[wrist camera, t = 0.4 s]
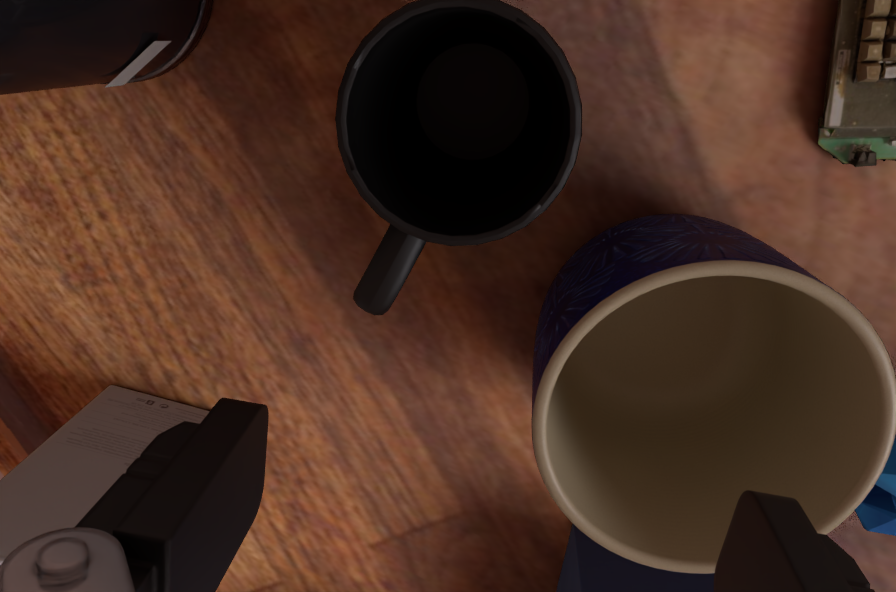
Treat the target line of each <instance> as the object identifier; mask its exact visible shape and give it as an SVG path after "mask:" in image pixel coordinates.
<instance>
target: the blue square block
mask: <svg viewBox="0 0 896 592" xmlns="http://www.w3.org/2000/svg"><path fill="white" fill-rule="evenodd" d="M556 592H714V573H709V574H703V573H683V572H673V571H668V570H663V569H657V568H653V567H650V566H646V565H643V564H639V563H637V562H634V561H631V560H629V559H626V558H624V557H622V556H620V555H618V554H615V553H613V552H611V551H609V550H608V549H606V548H604V547H603V546H601V545H599V544H598V543H596V542H595V541H593V540H592V539H591V538H589V537H588V536H587V535H585V534H584V533H583V532H581V531H580V530H579V529H578V528H577V527H576V526H575V525H574V524H572V528H571V532H570V536H569V540H568V545H567V549H566V553H565V557H564V561H563V565H562V569H561V573H560V578H559V582H558V586H557V590H556Z"/></svg>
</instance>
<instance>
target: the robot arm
mask: <svg viewBox="0 0 896 592" xmlns="http://www.w3.org/2000/svg"><path fill="white" fill-rule="evenodd" d="M212 5H213V0H0V95H3V94H12V93H21V92H30V91H39V90H48V89H58V88H67V87H76V86H85V85H93V84H108V85H107V86H106V87H112V86H120V85H124V84H125V83H130V82H139V81H145V80H149V79H152V78H155V77H158V76H161V75H163V74H165V73H167V72H169V71H170V70H172V69H173V68H175V67H176V66H178V65H179V64H180V63H181V62H183V61H184V60H185V59H186V58H187V57H188V56H189V55H190V53H191V52H192V51H193V50H194V48H195V47H196V46H197V44H198V42H199V41H200V39H201V37H202V35H203V33H204V31H205V29H206V27H207V24H208V21H209V18H210V14H211V11H212ZM267 432H268V408H267V406H266V405H263V404H257V403H252V402H246V401H240V400H234V399H229V398H221V399H220V400H219V401H218V402H217V403H216V405H215V406H214V407H213V408H212V409H211V411H210V412H209V413H208V414H207V416H206V417H205V418H204V419H203V420H202V422H201V423H200V424H199V423H193V422H188V421H183V422H181V423H179V424H178V425H176V426H174V427H172V428H170V429H168V430H166V431H164V432H162V433H160V434H158V435H157V436H156V437H155V438H154V439H153V441H152V442H151V443H150V444H149V445H148V446H147V447H146V448H145V449H144V451H143V452H142V453H141V455H140V458H138V457H137V458H136V459H135V461H134V462H133V463H132V464H131V465H130V466H129V467H128V468H127V471H126V473H125V474H124V473H123V474H122V475H121V476H120V477H119V478H118V479H117V480H116V482H115V483H114V484H113V485H112V486H111V487H110V488H109V489H108V490H107V492H106V493H105V494H104V495H103V496H102V497H101V498H100V499H99V500H98V502H97V503H96V504H95V505H94V506H93V507H92V508H91V509H90V510H89V511H88V513H87V514H86V515H85V516H84V517H83V518H82V519H81V520H80V521H79V523H78V524H77V525H76V526H75V527H73V528H64V529H58V530H54V531H50V532H46V533H44V534H41V535H38V536H36V537H34V538H32V539H30V540H28V541H26V542H24V543H23V544H21V545H20V546H18V547H17V548H16V549H14V550H13V551H12V552H11V553H10V554H9V555H8V556H7V557H6V558H5V559H4V561H3V563H2V564H1V565H0V592H215V591H216V590H217V588H218V586H219V584H220V582H221V580H222V578H223V577H224V575H225V573H226V571H227V569H228V567H229V566H230V564H231V562H232V560H233V558H234V556H235V555H236V553H237V551H238V549H239V547H240V545H241V543H242V542H243V540H244V538H245V536H246V534H247V532H248V531H249V529H250V527H251V525H252V523H253V521H254V519H255V517H256V514H257V512H258V509H259V506H260V502H261V498H262V493H263V487H264V477H265V462H266V447H267ZM714 592H875V591H874V590H873V589H870V583H869V582H868V580H867V579H866V577H865V576H864V574H863V573H862V571H861V570H860V568H859V567H858V565H857V564H856V562H855V560H854V559H853V558H852V557H851V556H850V555H848V554H847V553H846V552H845V551H844V550H843V549H842V548H841V547H839V546H838V545H837V544H836V543H835V542H834V541H833V540H832V539H830V538H829V537H828V536H827V535H825V534H819V533H817V531H816V530H815V528H814V527H813V525H812V523H811V522H810V520H809V518H808V517H807V515H806V513H805V512H804V510H803V509H802V507H801V505H800V504H799V502H798V501H797V500H796V499H794V498H791V497H785V496H779V495H774V494H768V493H762V492H756V491H751V490H746V491H744V492H743V493H742V495H741V496H740V498H739V500H738V502H737V505H736V508H735V511H734V514H733V517H732V520H731V523H730V525H729V528H728V531H727V534H726V537H725V540H724V543H723V546H722V549H721V552H720V555H719V558H718V561H717V564H716V568H715V573H714Z"/></svg>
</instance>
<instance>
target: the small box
mask: <svg viewBox="0 0 896 592" xmlns="http://www.w3.org/2000/svg"><path fill="white" fill-rule="evenodd" d="M209 412H210V411H206V410H203V409H199V408H196V407H192V406H189V405H185V404H181V403H177V402H174V401H170V400H166V399H163V398H159V397H155V396H152V395H148V394H144V393H140V392H136V391H133V390H129V389H125V388H121V387H118V386H114V385H110V386H108V387H107V388H105V389H104V390H103V391H102V392H101V393H100V394H99V395H97V396H96V397H95V398H94V399H93V400H92V401H90V402H89V403H88V404H87V405H86V406H85V407H84V408H82V409H81V410H80V411H79V412H78V413H77V414H76V415H75V416H73V417H72V418H71V419H70V420H69V421H68V422H67V423H65V424H64V425H63V426H62V427H61V428H60V429H59V430H57V431H56V432H55V433H54V434H53V435H52V436H51V437H49V438H48V439H47V440H46V441H45V442H44V443H42V444H41V445H40V446H39V447H38V448H37V449H36V450H34V451H33V452H32V453H31V454H30V455H29V456H27V457H26V458H25V459H24V460H23V461H22V462H20V463H19V464H18V465H17V466H16V467H15V468H14V469H12V470H11V471H10V472H9V473H8V474H7V475H6V476H4V477H3V478H2V479H1V480H0V565H1V564H2V563H3V561H4V559H5V558H6V557H7V556H8V555H9V554H10V553H11V552H12V551H13V550H14V549H16V548H17V547H18V546H20V545H21V544H23V543H24V542H26V541H28V540H30V539H32V538H34V537H36V536H38V535H41V534H44V533H46V532H50V531H54V530H58V529H64V528H73V527H75V526H76V525H77V524H78V523H79V521H80V520H81V519H82V518H83V517H84V516H85V515H86V514H87V513H88V511H89V510H90V509H91V508H92V507H93V506H94V505H95V504H96V503H97V502H98V500H99V499H100V498H101V497H102V496H103V495H104V494H105V493H106V492H107V490H108V489H109V488H110V487H111V486H112V485H113V484H114V483H115V482H116V480H117V479H118V478H119V477H120V476H121V475H122V474H123V473H124V474H125V473H126V471H127V468H128V467H129V466H130V465H131V464H132V463H133V462H134V461H135V459H136V458H137V457H138V458H140V455H141V453H142V452H143V451H144V449H145V448H146V447H147V446H148V445H149V444H150V443H151V442H152V441H153V439H154V438H155V437H156V436H157V435H158V434H160V433H162V432H164V431H166V430H168V429H170V428H172V427H174V426H176V425H178V424H179V423H181V422H183V421H188V422H193V423H199V424H200V423H201V422H202V420H203V419H204V418H205V417H206V416H207V414H208V413H209Z"/></svg>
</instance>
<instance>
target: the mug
mask: <svg viewBox="0 0 896 592" xmlns="http://www.w3.org/2000/svg"><path fill="white" fill-rule="evenodd" d="M335 121H336V130H337V139H338V147H339V150H340V153H341V156H342V159H343V162H344V165H345V168H346V171H347V174H348V175H349V177H350V179H351V180H352V182H353V184H354V185H355V187H356V189H357V190H358V192H359V194H360V196H361V197H362V198H363V199H364V200H365V201H366V202H367V203H368V204H369V205H370V207H371V208H372V209H373V210H374V211H375V212H376V213H377V214H378V215H379V216H380V217H382V218H383V219H384V220H386V221H387V222H389V223H390V226H389V228H388V230H387V232H386V234H385V235H384V237H383V239H382V241H381V243H380V245H379V247H378V249H377V250H376V252H375V254H374V256H373V258H372V260H371V262H370V264H369V266H368V267H367V269H366V271H365V273H364V275H363V277H362V279H361V280H360V282H359V284H358V286H357V287H356V289H355V291H354V295H353V299H354V301H355V302H356V304H357V305H358V306H359V307H360V308H361V309H363V310H364V311H366V312H368V313H370V314H373V315H383V314H384V313H386V312H387V311H388V310H389V308H390V307H391V305H392V303H393V302H394V300H395V298H396V297H397V295H398V293H399V291H400V289H401V288H402V286H403V284H404V282H405V280H406V279H407V277H408V275H409V273H410V271H411V269H412V268H413V266H414V264H415V262H416V260H417V258H418V257H419V255H420V253H421V251H422V249H423V247H424V245H425V244H426V242H432V243H438V244H443V245H448V246H462V245H479V244H483V243H487V242H490V241H494V240H498V239H502V238H504V237H506V236H508V235H510V234H512V233H514V232H516V231H518V230H520V229H522V228H524V227H526V226H527V225H528V224H529V223H531V222H532V221H533V220H534V219H536V218H537V217H538V216H539V215H540V214H542V213H543V212H544V211H545V210H547V208H548V207H549V206H550V204H551V203H552V202H553V201H554V199H555V198H556V197H557V196H558V194H559V193H560V192H561V190H562V189H563V188H564V186H565V184H566V182H567V180H568V177H569V175H570V173H571V171H572V169H573V167H574V165H575V163H576V159H577V154H578V150H579V146H580V141H581V137H582V104H581V99H580V95H579V90H578V86H577V81H576V77H575V75H574V73H573V71H572V69H571V67H570V65H569V63H568V61H567V58H566V56H565V54H564V52H563V50H562V49H561V48H560V47H559V46H558V44H557V43H556V42H555V41H554V39H553V38H552V37H551V36H550V34H549V33H548V32H547V31H546V29H545V28H544V27H542V26H541V25H540V24H539V23H537V22H536V21H535V20H533V19H532V18H531V17H530V16H528V15H527V14H526V13H524V12H523V11H522V10H520V9H518V8H516V7H513V6H511V5H509V4H507V3H504V2H502V1H500V0H418V1H415V2H412V3H408V4H407V5H405V6H403V7H402V8H400V9H398V10H397V11H395V12H393V13H392V14H390V15H389V16H387V17H385V18H384V19H382V20H381V21H380V22H379V23H378V25H377V26H376V27H375V28H374V29H373V30H372V31H371V32H370V33H369V34H368V35H367V36H366V37H365V38H364V39H363V40H362V41H361V43H360V44H359V46H358V48H357V49H356V51H355V53H354V54H353V56H352V57H351V59H350V61H349V62H348V64H347V67H346V70H345V73H344V76H343V79H342V82H341V84H340V87H339V90H338V99H337V108H336V117H335Z"/></svg>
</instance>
